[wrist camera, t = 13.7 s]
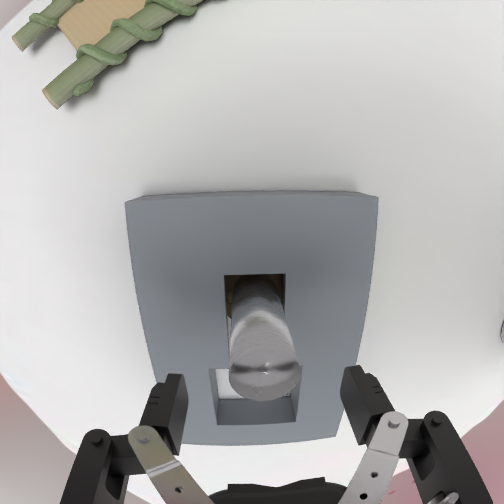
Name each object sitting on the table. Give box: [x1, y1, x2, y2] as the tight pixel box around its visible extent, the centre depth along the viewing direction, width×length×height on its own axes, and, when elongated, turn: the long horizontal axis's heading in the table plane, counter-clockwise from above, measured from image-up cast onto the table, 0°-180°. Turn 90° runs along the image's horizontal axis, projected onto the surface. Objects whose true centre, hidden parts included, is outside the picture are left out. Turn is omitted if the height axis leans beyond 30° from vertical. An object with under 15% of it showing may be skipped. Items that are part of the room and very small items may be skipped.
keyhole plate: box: [125, 191, 378, 446], centre depth 24 cm, size 18×26×4 cm
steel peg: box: [225, 273, 301, 401], centre depth 19 cm, size 6×6×12 cm
